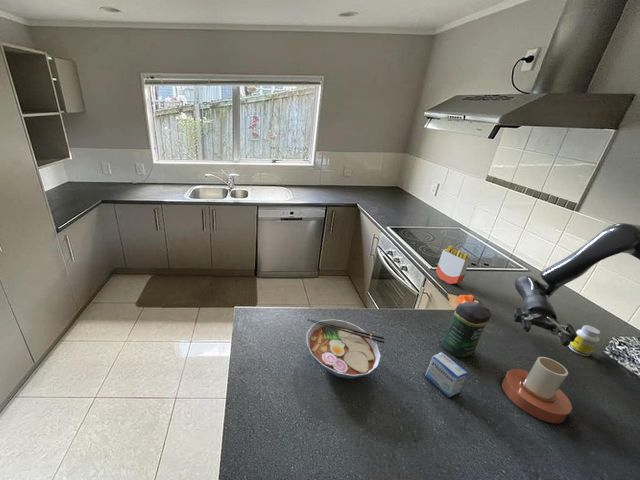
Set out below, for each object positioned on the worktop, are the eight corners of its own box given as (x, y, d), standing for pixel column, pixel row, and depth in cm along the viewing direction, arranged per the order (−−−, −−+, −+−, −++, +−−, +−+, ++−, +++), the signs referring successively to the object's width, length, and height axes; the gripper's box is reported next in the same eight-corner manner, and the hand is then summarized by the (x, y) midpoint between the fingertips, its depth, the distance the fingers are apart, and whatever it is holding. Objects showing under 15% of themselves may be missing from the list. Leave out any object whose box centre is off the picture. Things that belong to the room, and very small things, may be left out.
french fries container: (440, 273, 145) (451, 242, 138) (461, 285, 136) (473, 252, 129) (434, 275, 143) (444, 244, 136) (454, 287, 134) (467, 254, 127)
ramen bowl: (292, 375, 86) (295, 356, 83) (308, 326, 106) (310, 309, 102) (379, 407, 78) (386, 387, 74) (378, 348, 97) (383, 329, 94)
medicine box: (424, 376, 88) (432, 355, 84) (434, 371, 89) (442, 351, 86) (449, 398, 81) (458, 377, 78) (458, 393, 83) (468, 372, 79)
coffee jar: (457, 361, 94) (476, 317, 86) (437, 343, 100) (453, 301, 93) (478, 354, 96) (498, 311, 89) (457, 338, 103) (474, 296, 96)
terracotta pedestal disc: (560, 395, 83) (566, 385, 82) (571, 434, 73) (579, 424, 71) (500, 369, 91) (505, 360, 89) (503, 401, 81) (508, 391, 79)
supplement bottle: (566, 342, 104) (578, 321, 100) (587, 349, 101) (600, 328, 97) (569, 351, 99) (583, 330, 96) (591, 359, 97) (606, 337, 93)
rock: (451, 308, 119) (454, 300, 117) (447, 293, 129) (449, 285, 127) (485, 317, 114) (489, 309, 113) (478, 301, 124) (481, 293, 123)
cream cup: (551, 387, 81) (565, 364, 78) (555, 403, 76) (570, 379, 73) (523, 375, 84) (535, 352, 81) (525, 390, 80) (538, 367, 76)
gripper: (516, 292, 100) (521, 316, 88) (572, 309, 92) (586, 338, 80) (508, 309, 103) (511, 334, 91) (562, 327, 95) (573, 357, 83)
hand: (546, 336), depth 86 cm, fingers open, 8 cm apart
